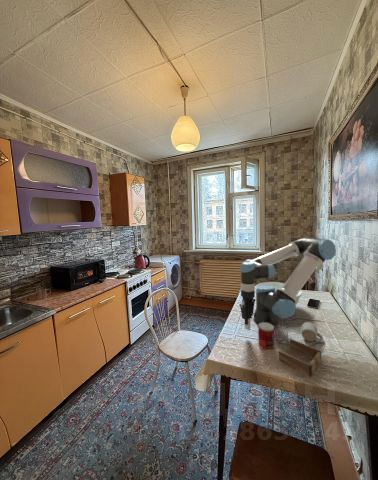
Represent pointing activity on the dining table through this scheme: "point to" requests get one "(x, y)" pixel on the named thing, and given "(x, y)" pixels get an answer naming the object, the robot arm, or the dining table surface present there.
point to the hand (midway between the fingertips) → (247, 328)
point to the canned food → (266, 335)
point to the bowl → (278, 286)
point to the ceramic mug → (310, 332)
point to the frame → (300, 364)
